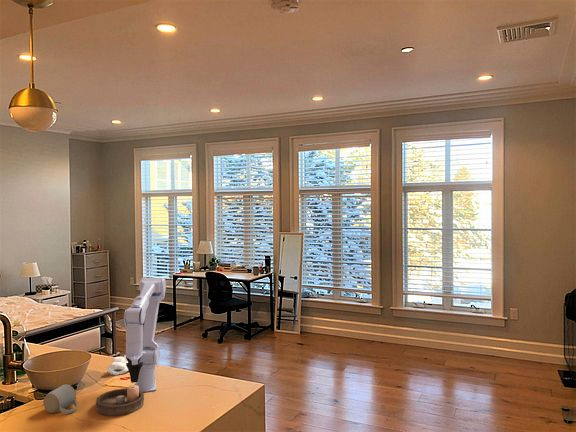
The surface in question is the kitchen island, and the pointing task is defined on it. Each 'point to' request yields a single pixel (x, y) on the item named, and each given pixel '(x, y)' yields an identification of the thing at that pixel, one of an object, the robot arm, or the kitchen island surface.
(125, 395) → the groove tray
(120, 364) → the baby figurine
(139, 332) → the robot arm
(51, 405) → the ceramic mug
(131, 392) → the bead
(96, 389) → the kitchen island surface
